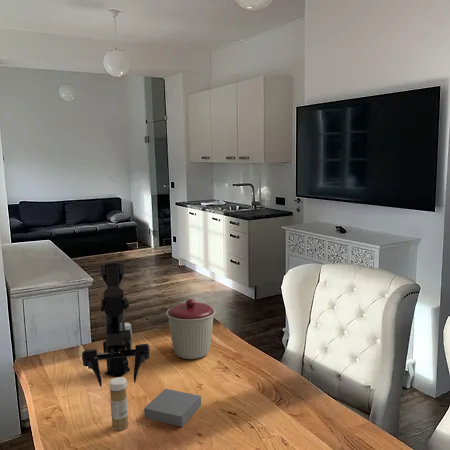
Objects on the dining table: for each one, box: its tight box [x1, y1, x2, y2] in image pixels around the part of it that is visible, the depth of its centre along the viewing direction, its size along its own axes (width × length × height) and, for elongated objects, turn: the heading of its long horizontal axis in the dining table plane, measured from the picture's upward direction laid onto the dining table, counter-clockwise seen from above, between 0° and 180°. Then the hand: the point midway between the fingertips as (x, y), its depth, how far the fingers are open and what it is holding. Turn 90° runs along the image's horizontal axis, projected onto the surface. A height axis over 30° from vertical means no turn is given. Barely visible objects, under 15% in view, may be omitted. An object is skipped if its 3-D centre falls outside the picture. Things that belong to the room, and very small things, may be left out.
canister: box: [165, 298, 216, 360], centre depth 174 cm, size 18×18×21 cm
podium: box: [143, 388, 202, 428], centre depth 135 cm, size 12×12×3 cm
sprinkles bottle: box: [108, 376, 129, 431], centre depth 127 cm, size 5×5×13 cm
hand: (117, 384), depth 130 cm, fingers open, 9 cm apart
